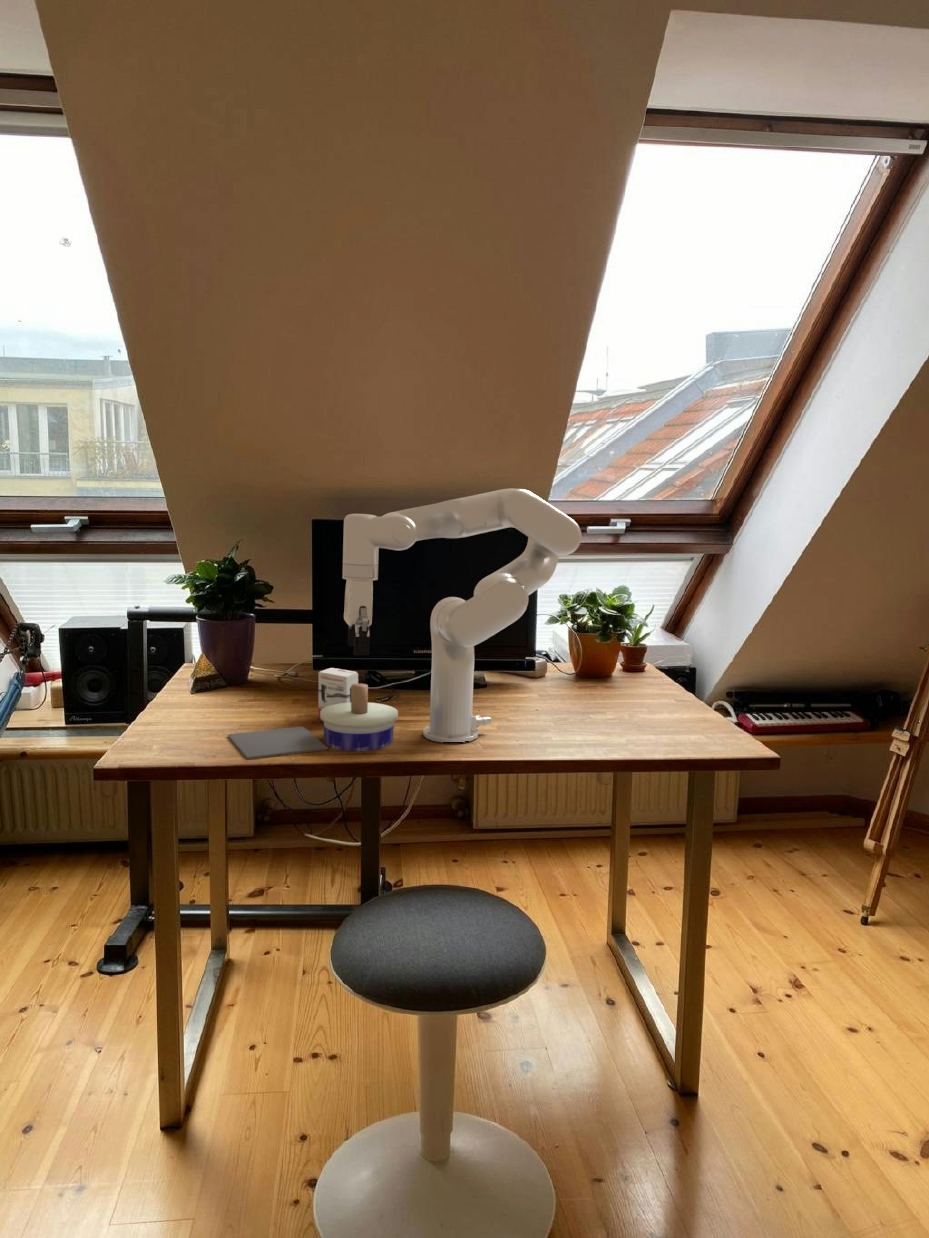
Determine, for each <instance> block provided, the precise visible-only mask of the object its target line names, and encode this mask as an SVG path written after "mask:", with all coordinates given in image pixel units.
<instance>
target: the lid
mask: <svg viewBox="0 0 929 1238" xmlns="http://www.w3.org/2000/svg"><path fill="white" fill-rule="evenodd" d="M368 693H369V685H368V684H366V683H358V684H353V685H351V702H349V703H340V704H335V705H331V706H328V707H325V708H323V709H322V710H321V711H320V718H321V719H320V720H321V721H322V722H323V723H324V722H326V723H328V724H332V725H336V726H342V727H355V728H363V727H376V726H382V725H386V724H389V723H392V722H394V723H395V722H396V721H397V720H398V719H399V711H398V709H396V708H395V707H393V706H391V705H388V704H383V703H377V702H370V701H369V694H368ZM368 701H369V702H368Z"/></svg>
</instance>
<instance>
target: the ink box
mask: <svg viewBox="0 0 929 1238" xmlns="http://www.w3.org/2000/svg"><path fill="white" fill-rule="evenodd" d="M317 674H318V675H317V677H318V680H317V681H318V692H317V694H318V719H319V720H321V718H320V711H321V710H322V709H323V708H325V707H328V706H331V705H335V704H340V703H349V702H351V685H353V684H359V673H358V671H353V670H347V669H341V668H335V667H330V668H326V669H324V670H320V671H318V673H317Z"/></svg>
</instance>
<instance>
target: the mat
mask: <svg viewBox="0 0 929 1238" xmlns="http://www.w3.org/2000/svg"><path fill="white" fill-rule="evenodd" d="M227 737H228V739H229V740H230V741H231V742H232V744H234V745H235V747H236V748H237V749H238V750H239V751H240V752H241V754H242V755H243V756H244V757H245V758H246V760H256V759H262V758H270V757H279V756H278V755H280V756H287V755H286V754H288V755H295V753H296V754H302V753H304V754H305V753H310V752H319V751H327V750H328V746H327V745H326V744H325V743H323V741H320V739H319V738H317V737H316V736H315V735H314V734H312V733H311V732H310V731H309V730H308V729H306V727H304V725H302V726H301V725H300V726H293V727H292V726H291V727H285V728H284V727H283V728H273V729H266V730H265V729H264V730H255V731H247V732H239V733H238V732H237V733H229V734H227Z"/></svg>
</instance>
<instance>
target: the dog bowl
mask: <svg viewBox="0 0 929 1238" xmlns="http://www.w3.org/2000/svg"><path fill="white" fill-rule="evenodd" d="M394 725H395V721H394V722H392V723H389V724H386V725H382V726H376V727H363V728H355V727H342V726H336V725H332V724H328V723H326V722H324V721H323V736H324V737H323V738H324V739H323V740H324V745H325V746H327V747H330V748H332V749H336V750H340V751H348V752H369V751H376V750H382V749H384V748H388V747H389V746H391V745H392V744H393V742H394V741H393V740H394V727H395V726H394Z"/></svg>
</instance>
